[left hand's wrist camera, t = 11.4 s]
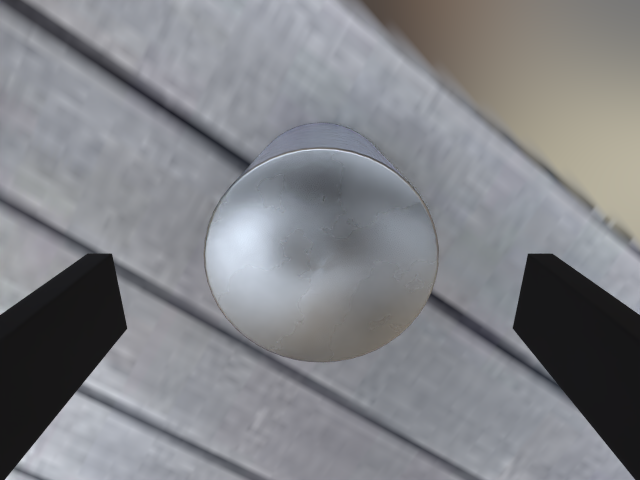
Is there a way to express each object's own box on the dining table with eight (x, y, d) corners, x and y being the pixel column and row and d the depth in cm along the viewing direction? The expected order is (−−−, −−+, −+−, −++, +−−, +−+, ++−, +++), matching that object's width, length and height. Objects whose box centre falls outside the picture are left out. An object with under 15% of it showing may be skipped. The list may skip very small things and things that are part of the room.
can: (404, 132, 22) (465, 162, 13) (379, 268, 25) (413, 372, 16) (253, 114, 22) (203, 132, 13) (246, 254, 25) (202, 352, 16)
